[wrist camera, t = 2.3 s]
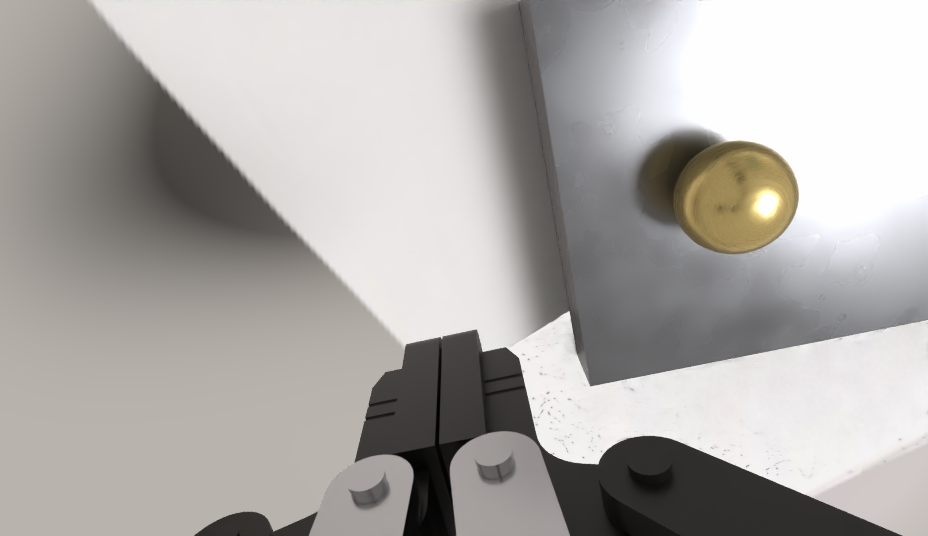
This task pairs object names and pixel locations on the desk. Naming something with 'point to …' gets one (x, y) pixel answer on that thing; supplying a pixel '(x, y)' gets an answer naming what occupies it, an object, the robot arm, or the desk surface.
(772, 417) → the desk surface
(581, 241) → the bore plate
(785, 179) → the brass knob
